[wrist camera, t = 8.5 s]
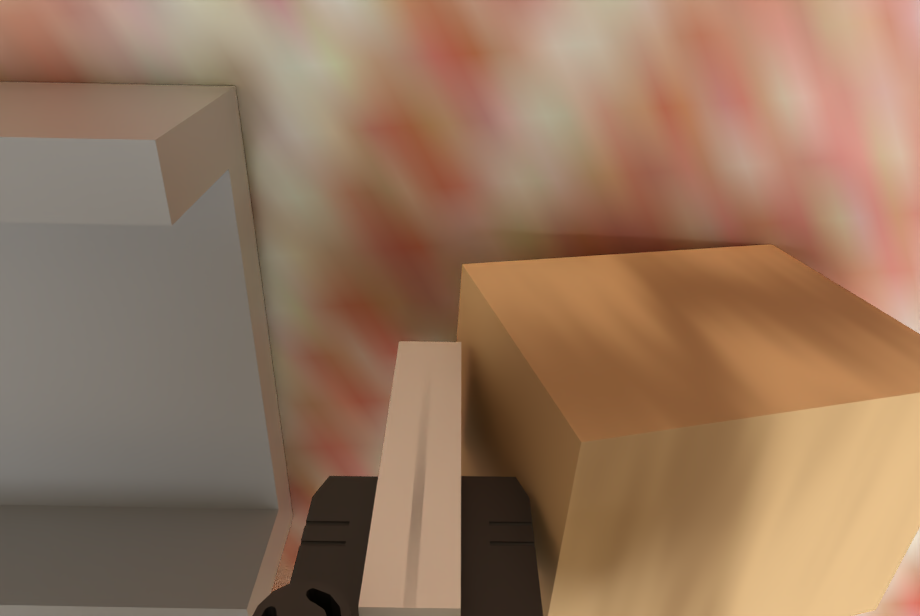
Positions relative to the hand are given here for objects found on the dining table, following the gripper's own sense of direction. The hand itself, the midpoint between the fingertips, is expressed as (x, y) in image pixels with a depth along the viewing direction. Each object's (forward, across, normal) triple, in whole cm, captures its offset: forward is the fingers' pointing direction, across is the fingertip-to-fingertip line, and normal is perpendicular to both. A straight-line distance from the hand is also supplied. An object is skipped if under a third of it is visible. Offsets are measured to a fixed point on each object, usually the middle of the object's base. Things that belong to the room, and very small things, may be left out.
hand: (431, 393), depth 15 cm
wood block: (-2, +1, 0) cm, 2 cm away
